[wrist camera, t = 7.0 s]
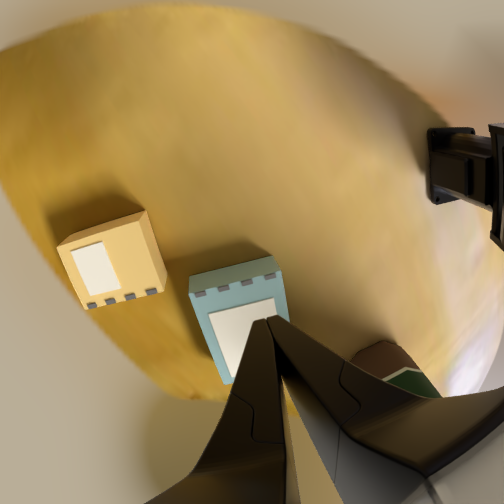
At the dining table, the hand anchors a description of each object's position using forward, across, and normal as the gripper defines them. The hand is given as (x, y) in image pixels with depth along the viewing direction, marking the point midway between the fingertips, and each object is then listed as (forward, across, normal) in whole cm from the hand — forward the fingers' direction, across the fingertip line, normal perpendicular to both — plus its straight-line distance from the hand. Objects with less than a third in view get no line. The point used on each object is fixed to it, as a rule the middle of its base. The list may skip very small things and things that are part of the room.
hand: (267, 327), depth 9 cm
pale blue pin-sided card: (+11, +1, +7) cm, 13 cm away
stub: (+11, +8, 0) cm, 14 cm away
